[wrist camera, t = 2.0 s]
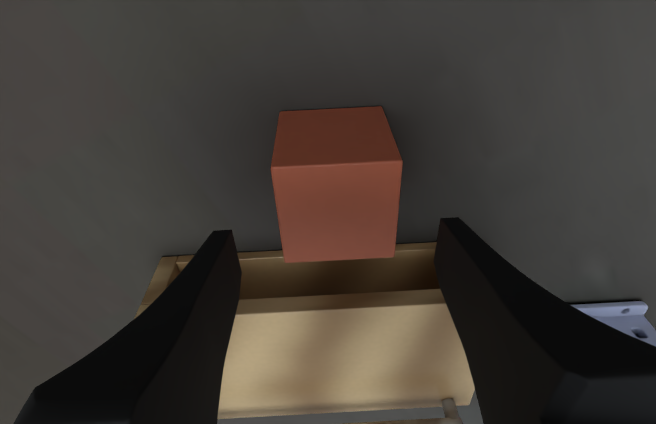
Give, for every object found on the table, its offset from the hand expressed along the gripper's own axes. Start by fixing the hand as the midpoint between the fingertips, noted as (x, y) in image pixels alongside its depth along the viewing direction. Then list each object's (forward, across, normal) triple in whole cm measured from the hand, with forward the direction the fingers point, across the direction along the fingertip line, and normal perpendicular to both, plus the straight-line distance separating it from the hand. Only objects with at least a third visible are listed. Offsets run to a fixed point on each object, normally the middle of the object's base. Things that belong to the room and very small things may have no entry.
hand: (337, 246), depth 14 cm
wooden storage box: (+6, +1, +11) cm, 13 cm away
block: (+6, 0, 0) cm, 7 cm away
